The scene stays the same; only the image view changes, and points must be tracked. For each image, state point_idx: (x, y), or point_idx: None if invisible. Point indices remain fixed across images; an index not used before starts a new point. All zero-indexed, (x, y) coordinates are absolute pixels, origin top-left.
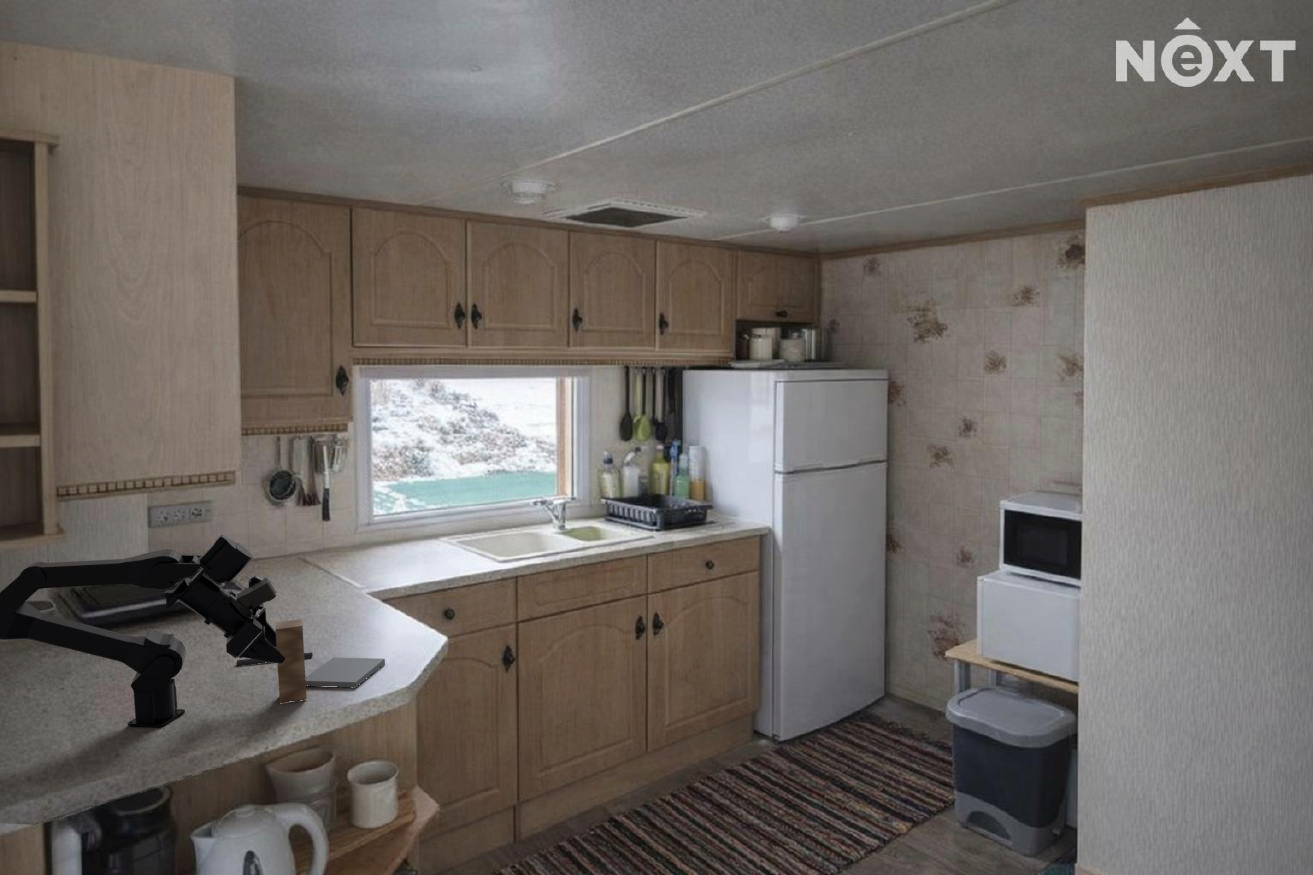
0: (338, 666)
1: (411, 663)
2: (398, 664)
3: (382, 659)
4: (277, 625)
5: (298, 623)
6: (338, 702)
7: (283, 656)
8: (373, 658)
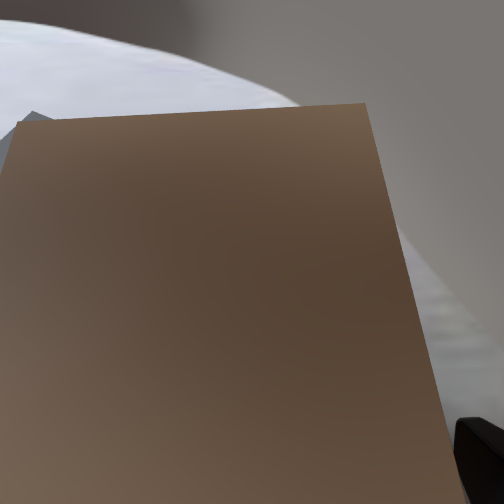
0: None
1: (86, 70)
2: (70, 97)
3: (37, 116)
4: (167, 475)
5: (218, 149)
6: None
7: (489, 428)
8: (4, 139)
